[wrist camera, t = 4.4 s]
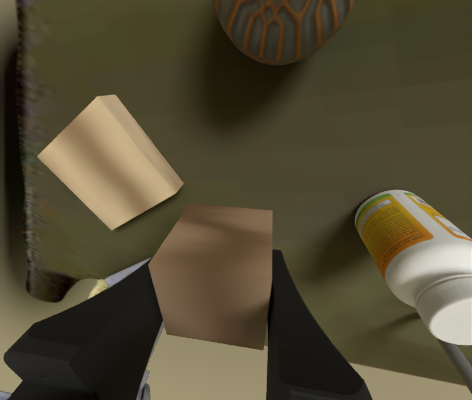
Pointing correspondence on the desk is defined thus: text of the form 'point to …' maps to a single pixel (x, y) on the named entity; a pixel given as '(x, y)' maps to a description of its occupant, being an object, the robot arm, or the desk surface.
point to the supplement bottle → (421, 260)
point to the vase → (281, 26)
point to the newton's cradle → (458, 362)
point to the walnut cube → (216, 275)
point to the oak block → (110, 163)
